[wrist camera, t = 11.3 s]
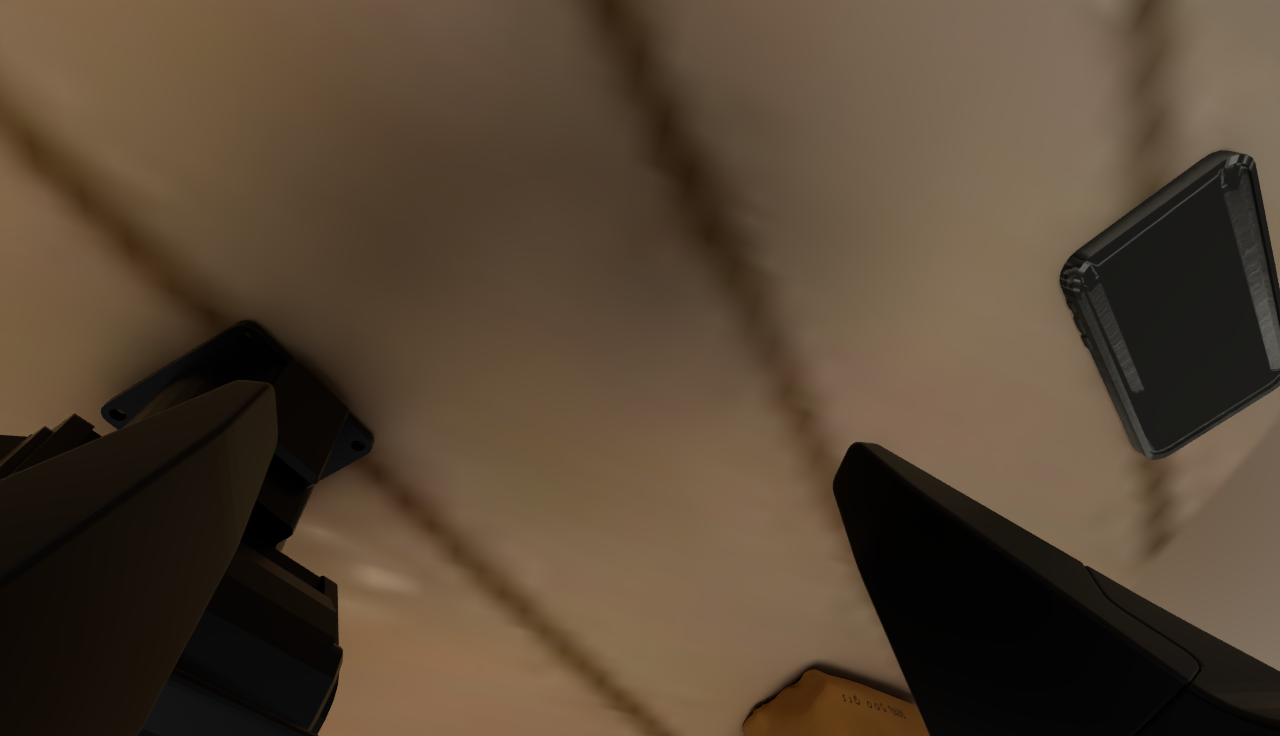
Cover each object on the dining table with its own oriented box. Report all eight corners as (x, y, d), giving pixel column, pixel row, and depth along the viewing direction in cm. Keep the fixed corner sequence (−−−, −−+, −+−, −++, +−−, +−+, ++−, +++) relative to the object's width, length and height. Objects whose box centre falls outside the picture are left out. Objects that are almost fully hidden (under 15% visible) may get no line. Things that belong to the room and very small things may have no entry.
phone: (1251, 140, 23) (1297, 376, 30) (1221, 135, 24) (1273, 365, 31) (1063, 276, 24) (1149, 468, 31) (1043, 266, 25) (1131, 455, 32)
